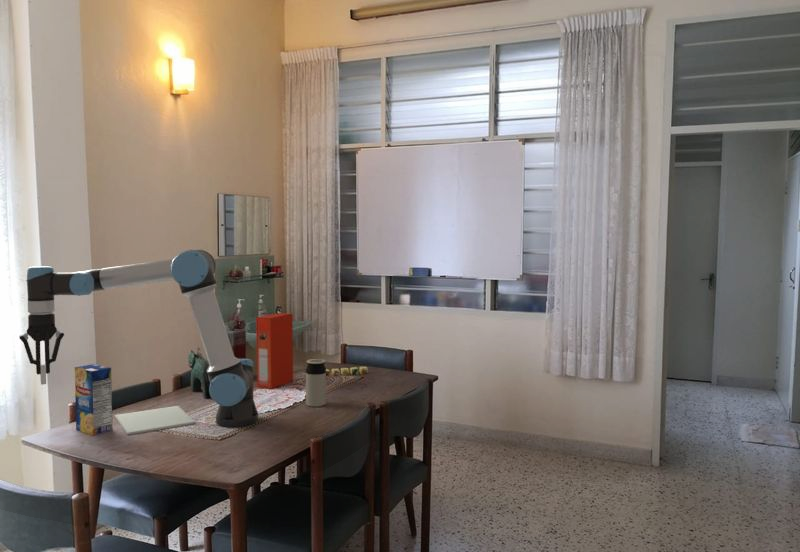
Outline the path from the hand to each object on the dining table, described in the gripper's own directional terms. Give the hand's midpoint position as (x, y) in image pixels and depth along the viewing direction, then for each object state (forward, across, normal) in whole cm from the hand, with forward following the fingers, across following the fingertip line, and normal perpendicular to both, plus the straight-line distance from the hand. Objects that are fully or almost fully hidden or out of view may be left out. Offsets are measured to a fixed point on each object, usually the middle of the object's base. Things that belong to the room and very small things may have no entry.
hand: (43, 383), depth 196 cm
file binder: (+19, -93, -27) cm, 98 cm away
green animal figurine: (+19, -60, -28) cm, 69 cm away
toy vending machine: (+19, -79, -47) cm, 94 cm away
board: (+18, -34, 0) cm, 39 cm away
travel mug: (+19, -94, +13) cm, 96 cm away
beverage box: (+19, -15, 0) cm, 24 cm away
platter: (+19, -130, -25) cm, 134 cm away
